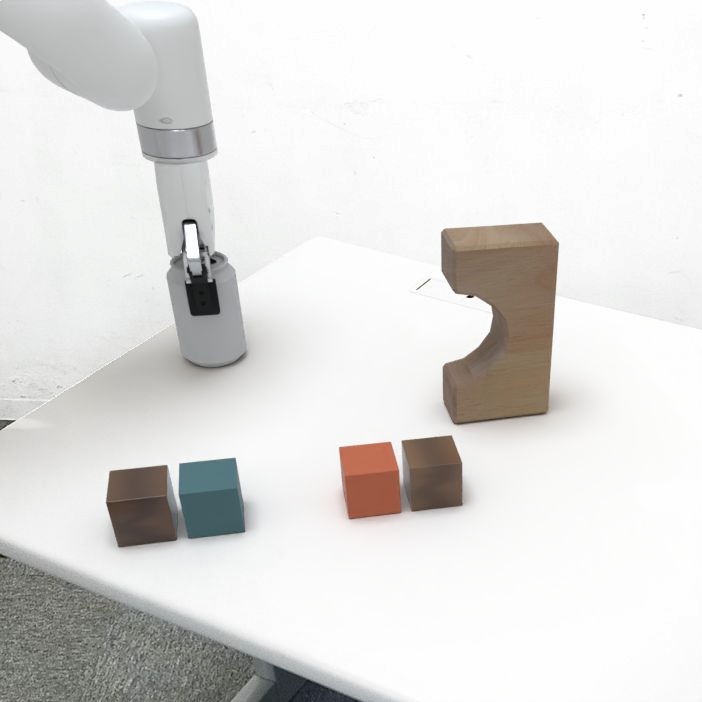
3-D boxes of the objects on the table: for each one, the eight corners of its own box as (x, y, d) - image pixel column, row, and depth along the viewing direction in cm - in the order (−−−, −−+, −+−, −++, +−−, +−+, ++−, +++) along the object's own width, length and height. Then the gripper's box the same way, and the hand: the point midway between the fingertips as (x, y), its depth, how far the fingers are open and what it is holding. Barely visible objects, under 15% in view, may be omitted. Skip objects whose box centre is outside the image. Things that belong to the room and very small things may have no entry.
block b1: (118, 547, 86) (105, 502, 83) (121, 514, 90) (109, 470, 87) (176, 540, 87) (166, 495, 84) (177, 508, 91) (167, 464, 88)
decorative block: (452, 425, 105) (451, 248, 93) (442, 399, 109) (439, 226, 97) (549, 415, 108) (560, 241, 96) (535, 390, 112) (544, 220, 100)
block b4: (411, 511, 93) (409, 468, 90) (403, 482, 96) (401, 440, 93) (462, 505, 94) (462, 462, 91) (452, 476, 98) (451, 434, 94)
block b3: (348, 519, 91) (344, 475, 88) (342, 489, 95) (338, 446, 92) (401, 512, 92) (399, 469, 89) (393, 483, 96) (391, 441, 93)
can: (258, 346, 117) (245, 251, 110) (229, 374, 111) (213, 276, 104) (202, 337, 118) (185, 242, 111) (170, 364, 112) (149, 266, 105)
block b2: (188, 538, 88) (178, 494, 85) (188, 506, 91) (179, 463, 88) (245, 531, 89) (237, 487, 86) (243, 500, 93) (235, 457, 90)
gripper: (142, 116, 105) (172, 270, 116) (135, 166, 92) (169, 335, 103) (214, 114, 107) (237, 267, 118) (217, 164, 94) (242, 330, 105)
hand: (205, 297), depth 110 cm, fingers closed on can, 7 cm apart
